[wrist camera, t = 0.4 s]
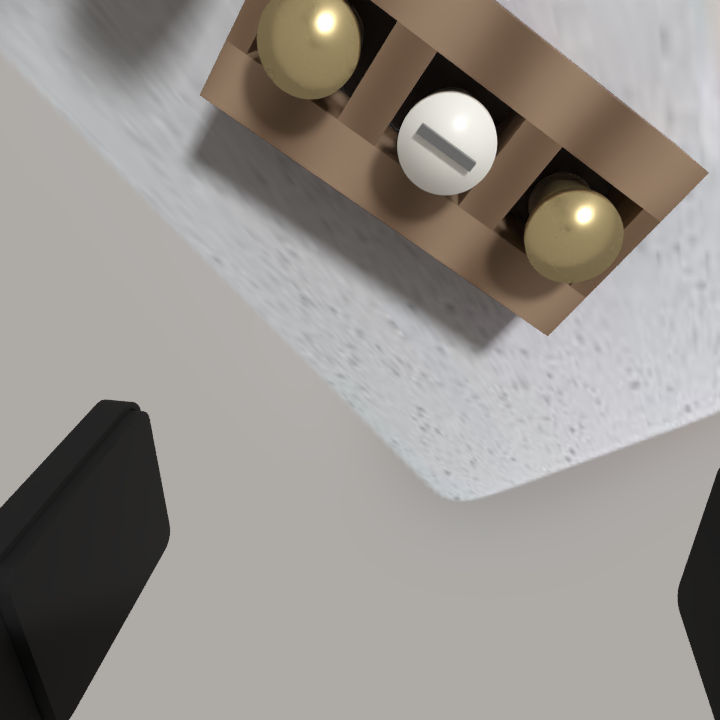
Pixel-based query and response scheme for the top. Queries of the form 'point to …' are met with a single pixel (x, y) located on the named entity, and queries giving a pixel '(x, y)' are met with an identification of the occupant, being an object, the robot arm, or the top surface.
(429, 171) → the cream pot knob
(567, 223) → the brass knob
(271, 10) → the brass knob
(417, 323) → the top surface
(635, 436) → the top surface
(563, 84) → the block
